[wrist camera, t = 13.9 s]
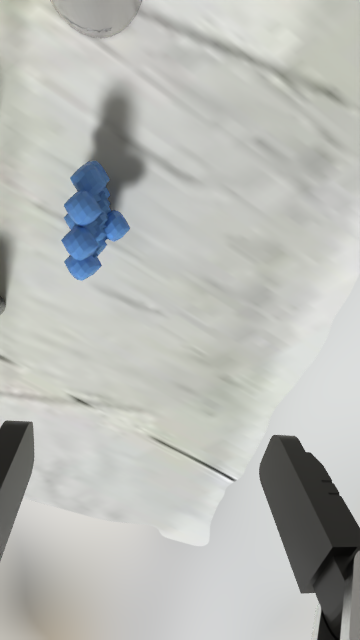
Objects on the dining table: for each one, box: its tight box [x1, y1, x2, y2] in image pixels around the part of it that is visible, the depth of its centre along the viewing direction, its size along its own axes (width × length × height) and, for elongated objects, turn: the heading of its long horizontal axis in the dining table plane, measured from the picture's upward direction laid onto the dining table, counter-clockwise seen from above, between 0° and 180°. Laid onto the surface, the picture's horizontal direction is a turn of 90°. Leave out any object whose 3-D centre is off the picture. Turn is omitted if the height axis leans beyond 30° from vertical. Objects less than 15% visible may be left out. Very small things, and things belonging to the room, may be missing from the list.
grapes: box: [62, 161, 130, 280], centre depth 33 cm, size 12×7×12 cm, turn 169°
